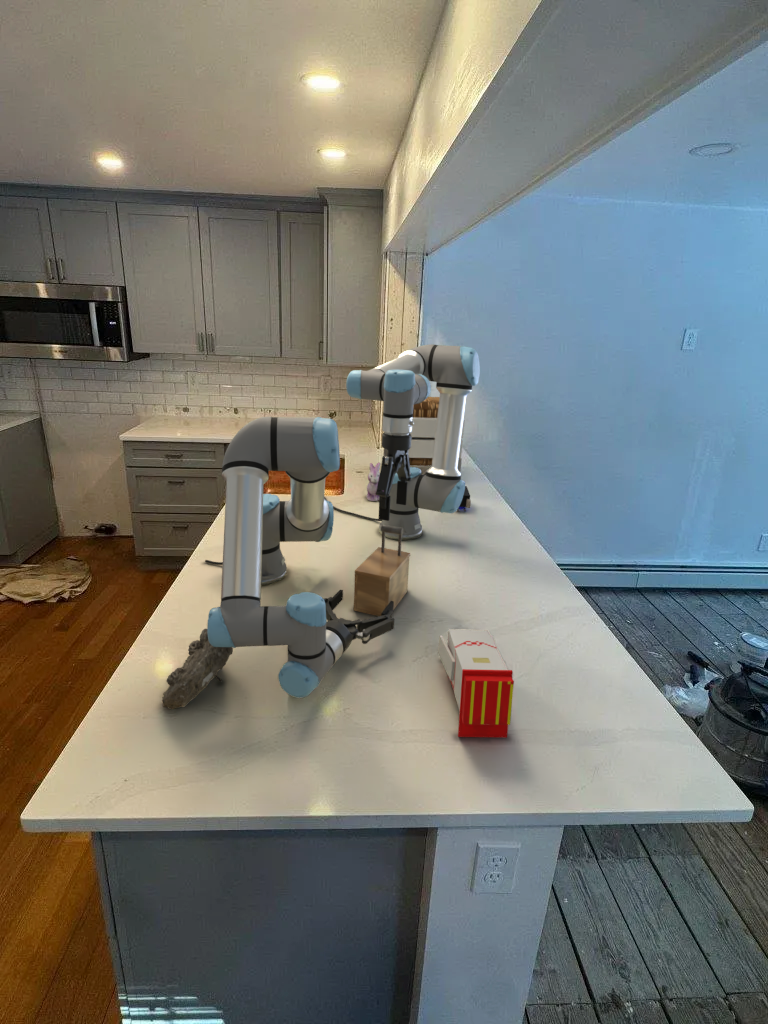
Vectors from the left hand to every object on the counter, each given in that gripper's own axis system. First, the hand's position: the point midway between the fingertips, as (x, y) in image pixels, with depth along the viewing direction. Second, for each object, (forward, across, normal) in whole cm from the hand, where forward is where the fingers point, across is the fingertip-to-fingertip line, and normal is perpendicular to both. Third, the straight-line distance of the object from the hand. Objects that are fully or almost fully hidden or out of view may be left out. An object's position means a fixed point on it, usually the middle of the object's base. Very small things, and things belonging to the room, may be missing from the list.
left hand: (366, 600), depth 141 cm
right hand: (+18, 0, +17) cm, 25 cm away
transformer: (+139, -30, -6) cm, 142 cm away
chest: (+12, 0, -6) cm, 14 cm away
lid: (+13, 0, +4) cm, 13 cm away
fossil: (-36, -22, -6) cm, 42 cm away
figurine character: (+98, 0, -6) cm, 98 cm away
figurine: (+93, -34, -6) cm, 99 cm away
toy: (-16, +30, -6) cm, 35 cm away
